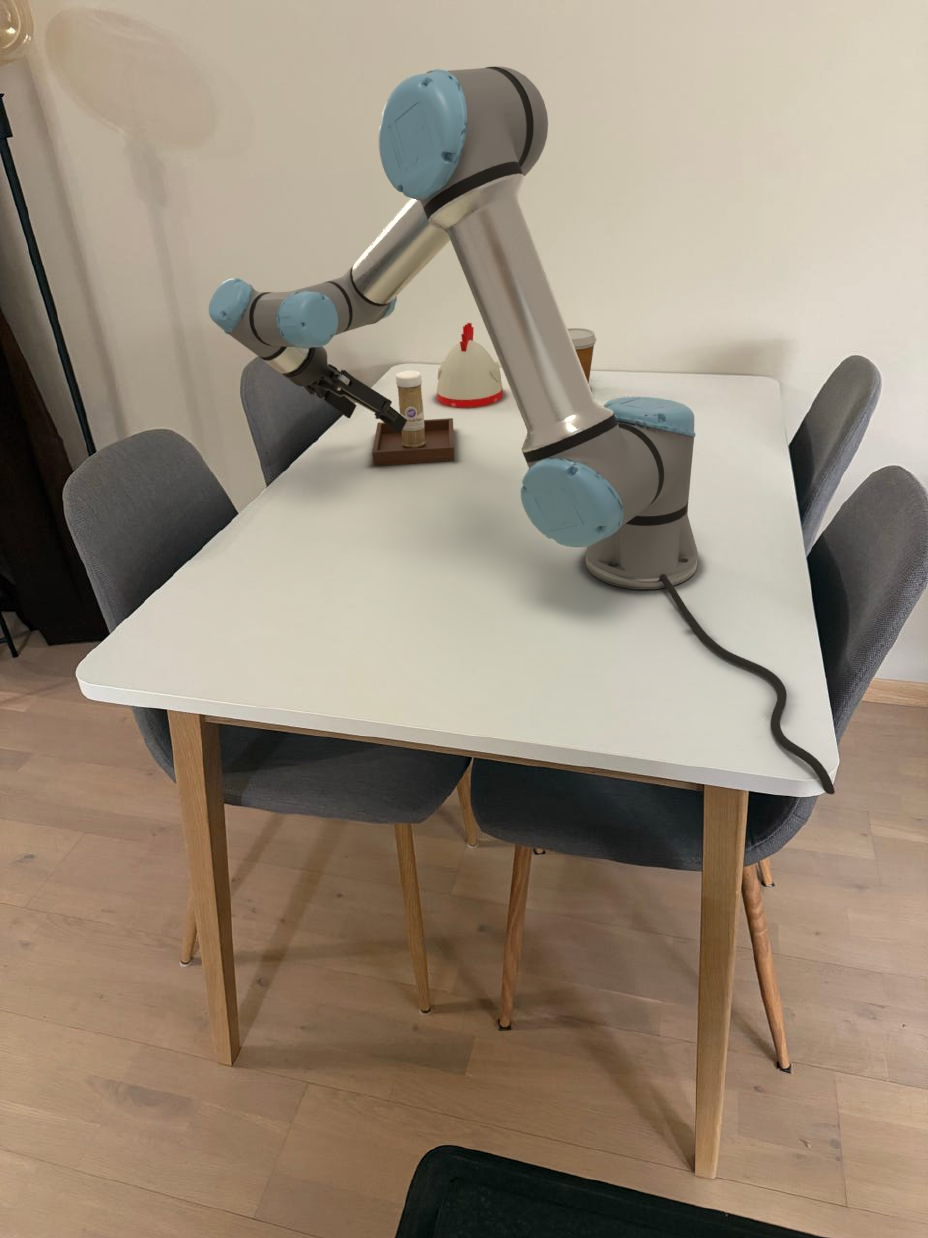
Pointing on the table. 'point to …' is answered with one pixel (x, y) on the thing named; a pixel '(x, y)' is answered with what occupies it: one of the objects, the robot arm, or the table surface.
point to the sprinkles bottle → (411, 408)
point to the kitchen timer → (469, 375)
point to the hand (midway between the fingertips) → (376, 418)
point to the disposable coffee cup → (583, 347)
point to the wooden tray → (434, 450)
